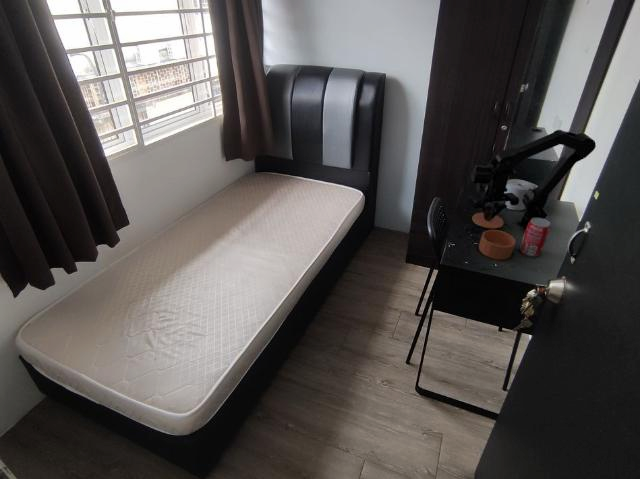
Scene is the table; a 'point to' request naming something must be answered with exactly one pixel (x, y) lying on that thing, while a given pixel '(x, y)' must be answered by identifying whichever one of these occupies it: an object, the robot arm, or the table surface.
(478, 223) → the pot lid
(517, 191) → the toilet tissue
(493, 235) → the pot
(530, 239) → the soda can
